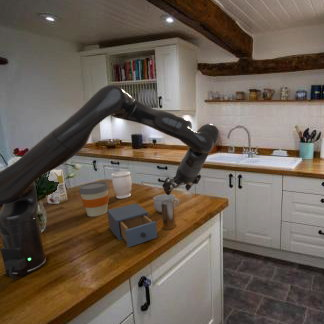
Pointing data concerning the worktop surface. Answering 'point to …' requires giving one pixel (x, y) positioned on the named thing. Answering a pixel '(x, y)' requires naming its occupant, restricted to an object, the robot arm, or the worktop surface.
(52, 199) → the juice carton
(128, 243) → the drawer
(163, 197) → the teacup
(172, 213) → the brushed steel cylinder
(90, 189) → the reusable coffee cup
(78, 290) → the worktop surface
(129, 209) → the cabinet
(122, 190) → the jar
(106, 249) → the worktop surface
